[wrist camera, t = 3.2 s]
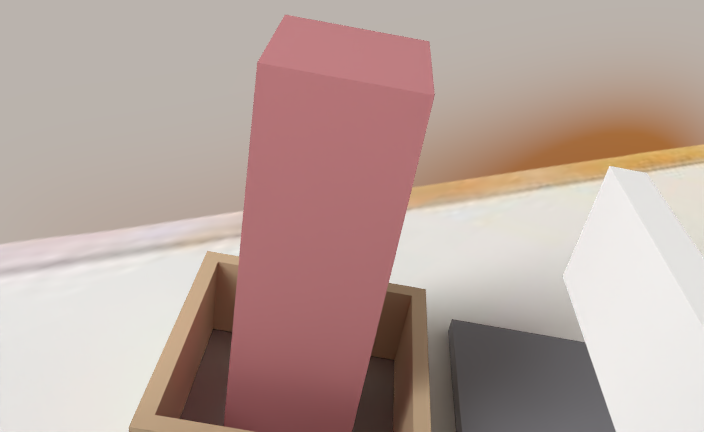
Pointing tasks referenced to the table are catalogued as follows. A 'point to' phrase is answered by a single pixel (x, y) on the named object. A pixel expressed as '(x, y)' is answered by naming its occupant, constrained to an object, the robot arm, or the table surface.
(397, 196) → the pink rectangular block
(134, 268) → the table surface
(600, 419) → the rubber mat
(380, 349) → the hollow rectangular frame
